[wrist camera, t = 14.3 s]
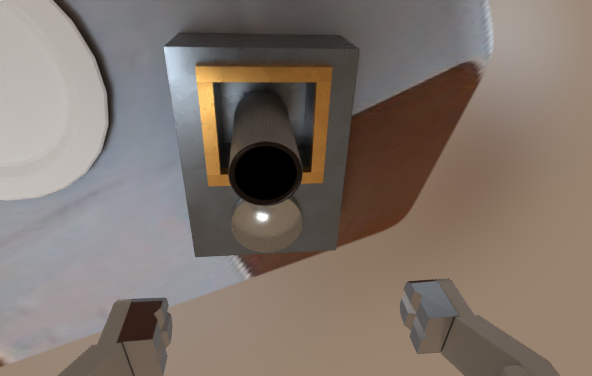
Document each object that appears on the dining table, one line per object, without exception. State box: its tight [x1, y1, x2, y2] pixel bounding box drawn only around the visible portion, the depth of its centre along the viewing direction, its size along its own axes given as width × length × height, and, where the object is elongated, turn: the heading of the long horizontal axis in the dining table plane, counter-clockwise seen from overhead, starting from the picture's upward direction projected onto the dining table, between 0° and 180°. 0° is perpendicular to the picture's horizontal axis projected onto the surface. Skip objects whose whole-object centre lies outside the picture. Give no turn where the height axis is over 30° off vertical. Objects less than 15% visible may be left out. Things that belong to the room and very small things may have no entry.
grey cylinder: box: [228, 91, 303, 206], centre depth 26 cm, size 4×4×10 cm
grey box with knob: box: [164, 33, 359, 257], centre depth 31 cm, size 18×13×7 cm
